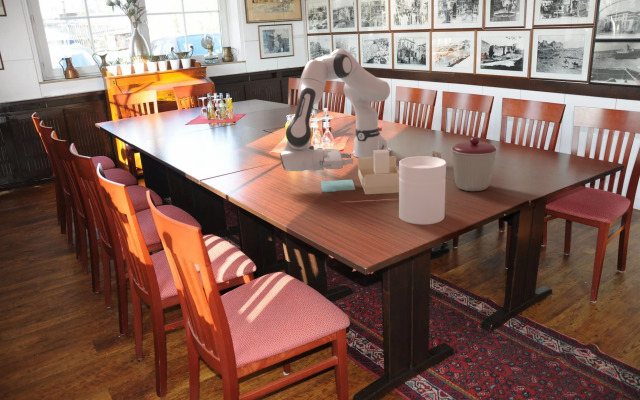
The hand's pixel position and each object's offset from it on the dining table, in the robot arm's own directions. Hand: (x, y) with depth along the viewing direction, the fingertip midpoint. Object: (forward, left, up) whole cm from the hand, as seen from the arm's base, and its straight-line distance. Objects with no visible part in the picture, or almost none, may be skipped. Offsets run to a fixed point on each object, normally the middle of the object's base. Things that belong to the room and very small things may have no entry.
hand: (352, 158), depth 219 cm
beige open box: (-8, +10, -12) cm, 17 cm away
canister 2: (-21, +45, -12) cm, 51 cm away
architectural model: (-43, +19, -13) cm, 48 cm away
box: (-8, +10, -12) cm, 17 cm away
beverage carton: (-23, -46, -13) cm, 53 cm away
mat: (+4, -5, -12) cm, 14 cm away
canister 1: (+18, +41, -12) cm, 46 cm away
